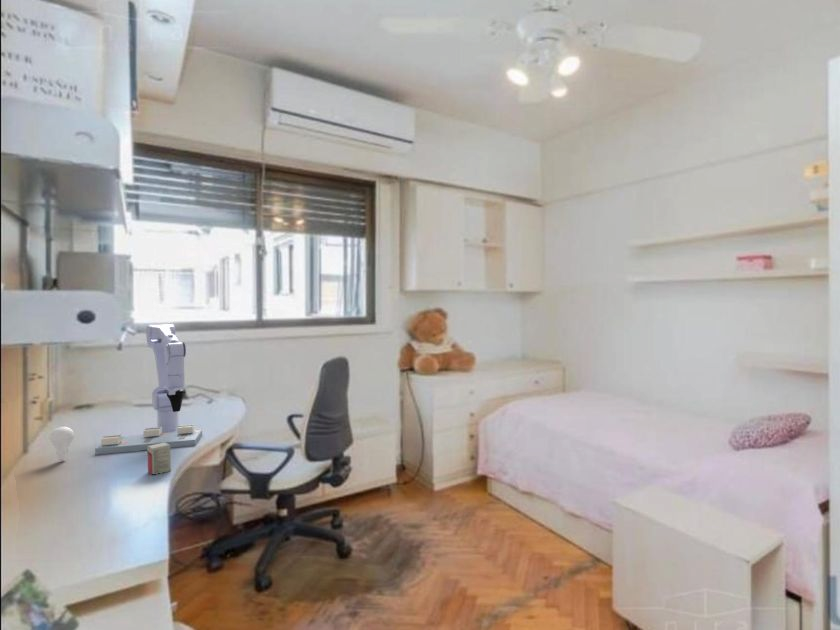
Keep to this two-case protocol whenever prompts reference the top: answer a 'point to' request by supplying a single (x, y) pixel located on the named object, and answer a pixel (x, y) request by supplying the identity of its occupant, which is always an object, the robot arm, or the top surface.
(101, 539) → the top surface
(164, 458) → the small box
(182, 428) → the knob
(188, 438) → the switch unit
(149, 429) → the knob
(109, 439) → the knob
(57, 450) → the lightbulb
